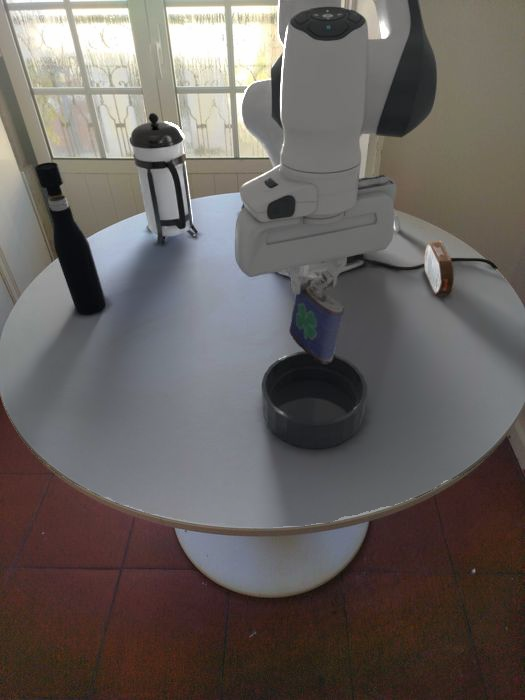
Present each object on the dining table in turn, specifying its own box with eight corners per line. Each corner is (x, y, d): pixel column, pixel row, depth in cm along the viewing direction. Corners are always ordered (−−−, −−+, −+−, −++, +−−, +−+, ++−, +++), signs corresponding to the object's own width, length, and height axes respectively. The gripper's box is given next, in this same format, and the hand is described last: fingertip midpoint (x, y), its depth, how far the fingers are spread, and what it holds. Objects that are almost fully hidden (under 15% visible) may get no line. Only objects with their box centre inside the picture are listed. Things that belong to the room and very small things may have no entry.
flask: (336, 361, 65) (351, 297, 58) (319, 367, 64) (331, 302, 57) (300, 324, 71) (309, 262, 64) (283, 329, 69) (291, 266, 62)
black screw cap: (334, 367, 84) (337, 341, 81) (381, 432, 73) (387, 406, 69) (249, 390, 81) (248, 364, 77) (284, 463, 69) (285, 437, 65)
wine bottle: (98, 316, 99) (53, 173, 79) (70, 313, 100) (19, 171, 80) (111, 299, 103) (72, 160, 84) (85, 296, 104) (40, 159, 85)
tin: (449, 303, 99) (459, 268, 93) (434, 303, 99) (443, 268, 94) (432, 266, 110) (440, 233, 105) (419, 266, 110) (426, 233, 105)
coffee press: (131, 242, 124) (103, 120, 105) (163, 217, 135) (143, 103, 116) (188, 253, 119) (170, 126, 99) (217, 226, 130) (205, 108, 110)
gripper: (384, 164, 58) (370, 262, 67) (226, 189, 53) (234, 291, 62) (413, 181, 54) (394, 284, 62) (243, 210, 49) (249, 318, 57)
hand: (313, 288), depth 62 cm, fingers closed on flask, 3 cm apart
